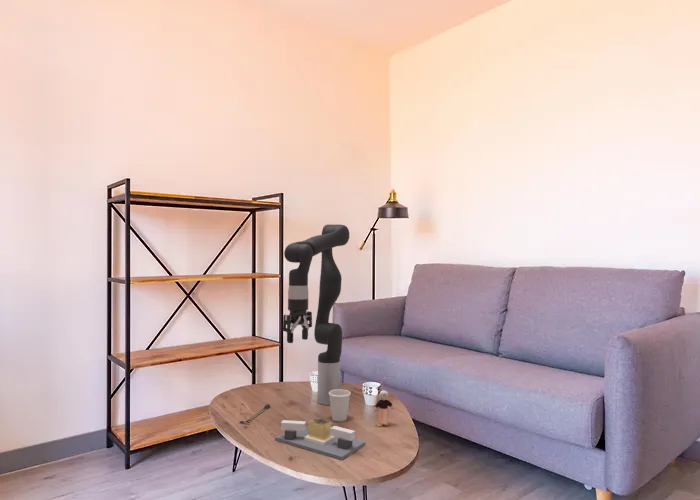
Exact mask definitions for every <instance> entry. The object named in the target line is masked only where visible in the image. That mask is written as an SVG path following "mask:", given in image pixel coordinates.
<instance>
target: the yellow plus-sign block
mask: <svg viewBox="0 0 700 500" xmlns="http://www.w3.org/2000/svg"><path fill="white" fill-rule="evenodd" d="M308 426H309V437H312V438H316V439H319V440H325V439H327V438H329V437H330V436H331V435H330V428H331V427H332V420H328V419H325V418H319V417H315V418H313V419H311V420H309V421H308Z"/></svg>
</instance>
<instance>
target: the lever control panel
mask: <svg viewBox="0 0 700 500" xmlns="http://www.w3.org/2000/svg"><path fill="white" fill-rule="evenodd" d="M280 430H281V431H284V432H283V433H281V434H279V435H276V436H275V437H274V441H277V442H280V443H284V444H285V445H290V446H294V447H296V448H301V449H302V450H303V449H304V450H307V451H309V452H314V453H317V454H320V455H324V456H326V457H330V458H333V459H335V460H336V459H337V460H341V461H343V460H344V459H347V458H348V457H349V456H350V455H353V454H354V453H355V452H357V451H358V450H360V449H361V448H363V447H364V446H366V441H365V440H361V439H359V438H356V431H355V430H353V429H348V428H345V427H341V426H337V425H333V426H331V428H330V435H331V436H330V437H329V438H327V439H325V440H319V439H316V438H312V437H309V425H307V421H305V420H304V421H302V420H301V421H300V420H286V419H283V420H281V422H280Z"/></svg>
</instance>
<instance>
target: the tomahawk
mask: <svg viewBox="0 0 700 500" xmlns="http://www.w3.org/2000/svg"><path fill="white" fill-rule="evenodd" d="M270 407H271V404H269V403H267V404H265V405H264V407H263V408H261V409H259V410H258V411H257V412H256V413H255V414H253V415H252V416H250V417H249V418H248V419H246V421H243V420H240V422H239V424H240V423H241V424H240V425H242V424H243V425H247V426H249V425H250V424H251V423H253V422H252V421H253V420H254V419H255V418H257V417H258V416H260V415H261V414H262V413H264V412H265V411H267V410H268V409H269V408H270ZM244 422H246V423H244Z"/></svg>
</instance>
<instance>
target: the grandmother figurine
mask: <svg viewBox="0 0 700 500" xmlns="http://www.w3.org/2000/svg"><path fill="white" fill-rule="evenodd" d="M379 397H380V399H378V401H377V402H376V404H375V405H374V408H373V409H372V410H373V412H377V410H378V414H377V423H376V426H377V427H383V426H384V427H388V426H389V423H388V420H389V408H390V410H394V406H393V403H392V402H391V400H388V397H389V393H388V391H386V390H381V391H380V392H379ZM388 407H389V408H388Z"/></svg>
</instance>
